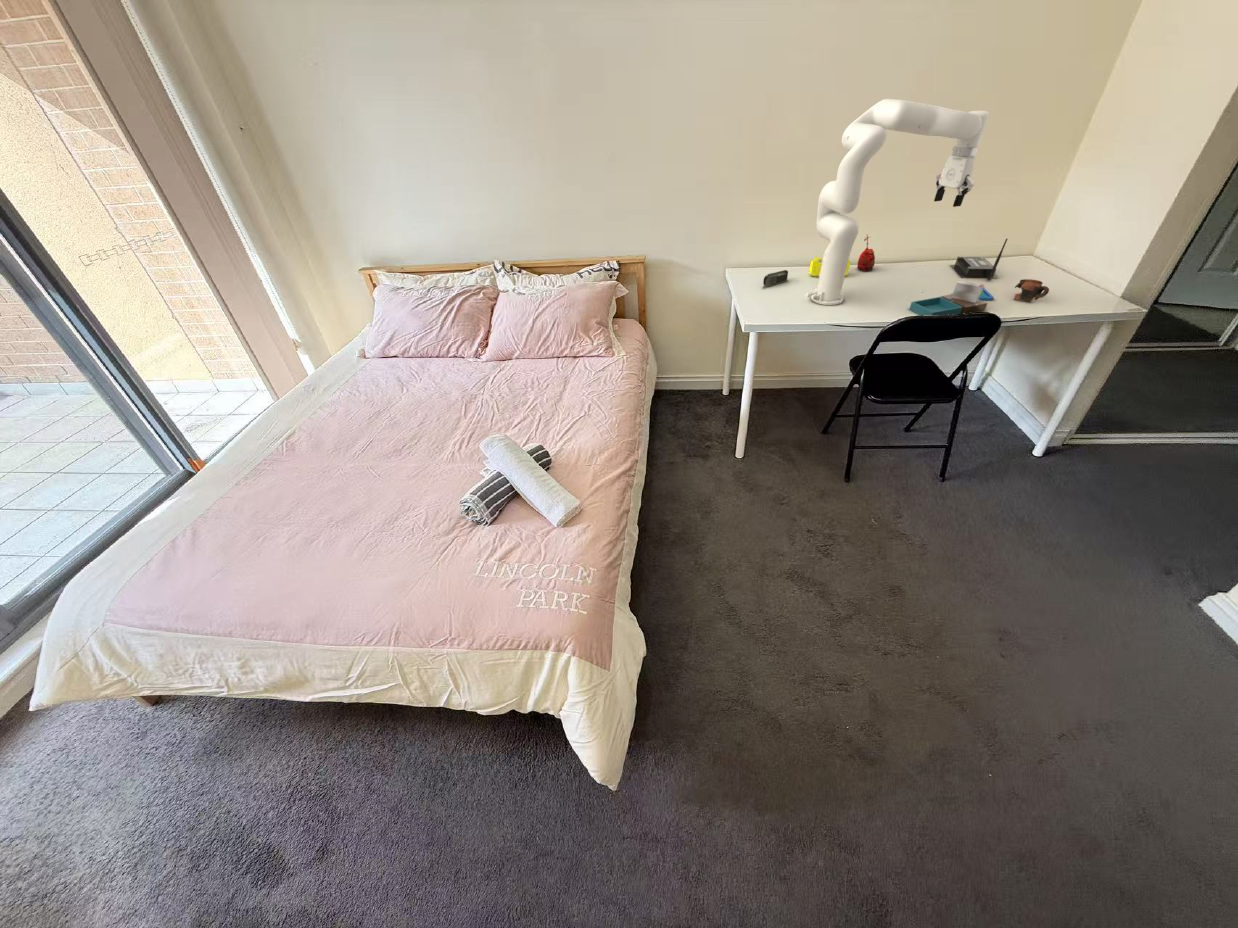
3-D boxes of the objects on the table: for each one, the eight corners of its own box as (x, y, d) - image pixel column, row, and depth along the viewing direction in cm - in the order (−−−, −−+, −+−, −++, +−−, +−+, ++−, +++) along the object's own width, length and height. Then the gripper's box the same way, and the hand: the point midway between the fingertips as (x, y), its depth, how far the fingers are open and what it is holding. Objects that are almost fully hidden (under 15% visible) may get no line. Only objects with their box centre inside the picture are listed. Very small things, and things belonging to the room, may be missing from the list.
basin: (930, 320, 184) (932, 312, 182) (909, 309, 192) (911, 301, 190) (959, 314, 186) (962, 307, 184) (937, 304, 194) (940, 296, 192)
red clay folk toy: (867, 273, 223) (876, 238, 214) (852, 270, 227) (861, 235, 218) (875, 269, 227) (884, 234, 217) (860, 265, 231) (869, 231, 221)
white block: (951, 297, 191) (957, 281, 187) (953, 295, 192) (959, 279, 188) (975, 303, 186) (982, 286, 182) (977, 300, 187) (984, 284, 183)
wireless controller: (950, 265, 225) (965, 225, 214) (984, 265, 223) (1001, 225, 212) (964, 281, 210) (980, 238, 199) (1000, 281, 208) (1019, 238, 197)
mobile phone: (784, 268, 220) (761, 275, 214) (790, 270, 218) (766, 277, 212) (783, 279, 224) (759, 287, 217) (788, 281, 222) (764, 288, 215)
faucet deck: (960, 315, 185) (963, 307, 183) (935, 303, 195) (938, 295, 193) (988, 310, 187) (991, 302, 185) (962, 298, 197) (965, 290, 195)
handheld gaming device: (980, 283, 204) (994, 297, 193) (979, 286, 205) (993, 300, 194) (958, 283, 206) (971, 297, 194) (957, 286, 206) (970, 299, 195)
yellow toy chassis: (810, 277, 223) (814, 259, 218) (808, 273, 227) (811, 254, 222) (847, 277, 221) (851, 258, 215) (844, 273, 225) (849, 254, 220)
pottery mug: (1004, 299, 195) (1013, 277, 193) (1015, 305, 200) (1024, 284, 198) (1039, 300, 185) (1049, 278, 183) (1049, 307, 190) (1059, 285, 188)
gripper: (938, 150, 186) (922, 200, 197) (974, 156, 173) (956, 209, 184) (954, 148, 187) (938, 198, 198) (992, 154, 174) (972, 207, 185)
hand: (946, 203), depth 191 cm, fingers open, 9 cm apart
